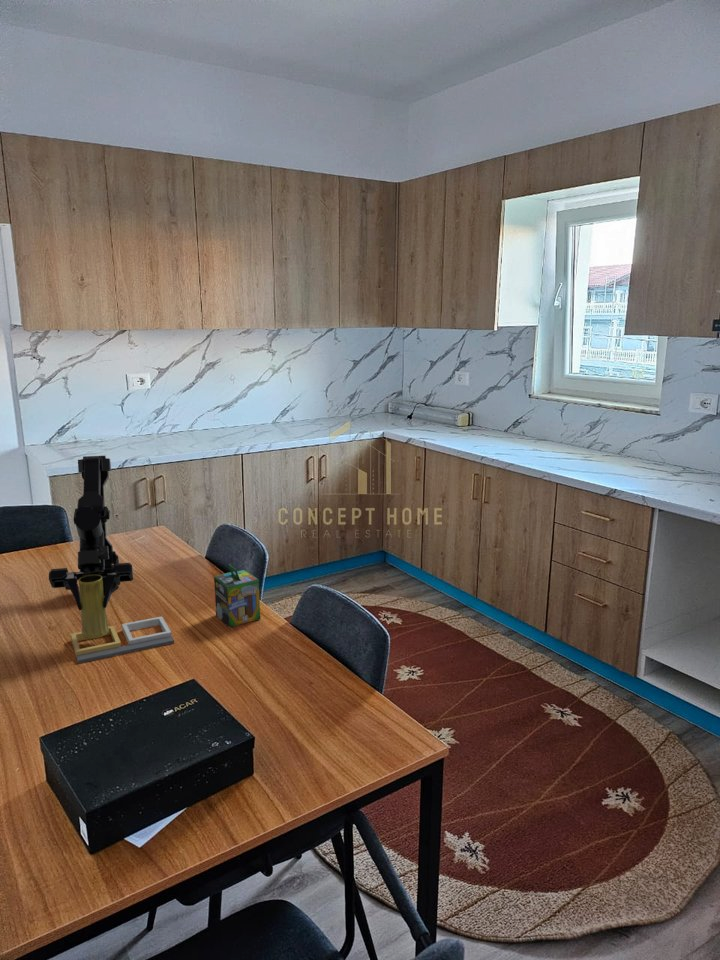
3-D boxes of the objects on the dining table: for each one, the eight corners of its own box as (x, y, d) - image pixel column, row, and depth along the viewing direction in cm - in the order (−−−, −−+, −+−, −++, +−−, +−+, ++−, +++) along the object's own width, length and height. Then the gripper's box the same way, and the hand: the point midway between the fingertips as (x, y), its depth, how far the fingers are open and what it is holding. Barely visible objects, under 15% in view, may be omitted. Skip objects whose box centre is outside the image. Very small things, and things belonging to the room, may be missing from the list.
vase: (113, 632, 166) (109, 577, 162) (90, 641, 161) (84, 585, 157) (100, 624, 169) (95, 571, 166) (77, 633, 165) (71, 578, 161)
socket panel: (77, 663, 157) (77, 656, 157) (71, 640, 168) (70, 633, 167) (174, 643, 167) (173, 636, 167) (162, 622, 178) (162, 616, 177)
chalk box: (261, 620, 180) (260, 567, 177) (228, 628, 175) (226, 574, 172) (246, 607, 188) (244, 556, 184) (214, 615, 183) (212, 563, 179)
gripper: (45, 537, 160) (43, 600, 153) (129, 531, 165) (131, 592, 158) (53, 557, 169) (51, 617, 162) (132, 550, 175) (134, 608, 167)
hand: (92, 608), depth 162 cm, fingers closed on vase, 5 cm apart
